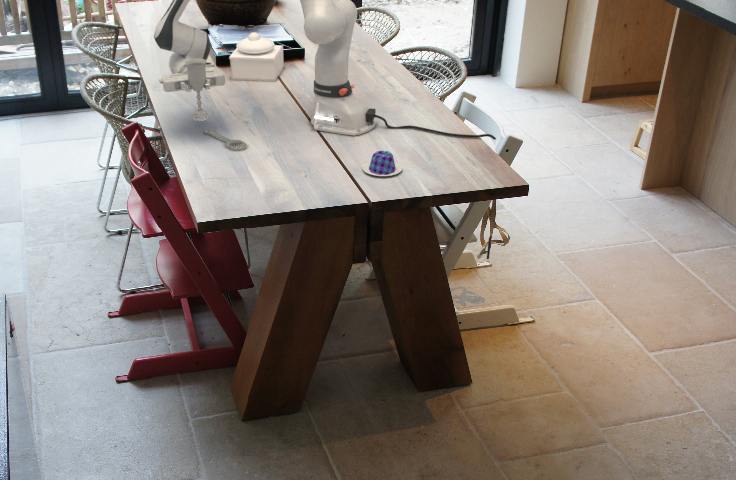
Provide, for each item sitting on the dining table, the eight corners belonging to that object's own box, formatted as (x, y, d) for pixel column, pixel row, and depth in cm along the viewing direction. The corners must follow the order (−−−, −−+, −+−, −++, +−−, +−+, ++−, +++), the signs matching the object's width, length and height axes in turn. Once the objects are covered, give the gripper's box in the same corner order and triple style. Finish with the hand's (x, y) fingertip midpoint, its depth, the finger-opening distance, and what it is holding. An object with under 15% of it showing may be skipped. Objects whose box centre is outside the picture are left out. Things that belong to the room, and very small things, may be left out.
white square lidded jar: (283, 67, 341) (282, 26, 332) (274, 81, 327) (273, 39, 318) (241, 65, 344) (239, 25, 335) (230, 80, 329) (227, 38, 320)
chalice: (191, 113, 277) (186, 58, 267) (212, 113, 277) (207, 58, 267) (188, 121, 271) (183, 65, 261) (209, 121, 271) (204, 65, 261)
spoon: (200, 133, 283) (200, 131, 283) (213, 129, 286) (213, 127, 285) (236, 151, 270) (235, 149, 269) (249, 147, 272) (249, 144, 272)
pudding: (410, 169, 256) (411, 152, 253) (386, 181, 249) (386, 165, 246) (378, 159, 263) (379, 143, 260) (354, 171, 255) (354, 155, 252)
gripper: (156, 69, 274) (165, 82, 263) (218, 62, 279) (228, 74, 268) (159, 88, 278) (167, 101, 267) (219, 81, 283) (230, 94, 272)
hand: (198, 88), depth 268 cm, fingers closed on chalice, 5 cm apart
